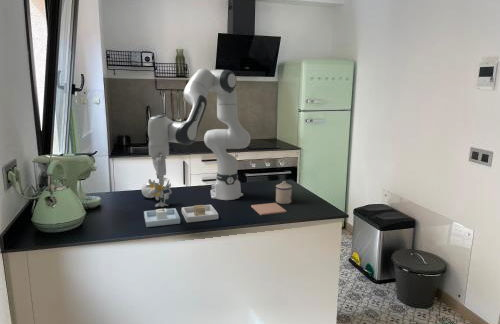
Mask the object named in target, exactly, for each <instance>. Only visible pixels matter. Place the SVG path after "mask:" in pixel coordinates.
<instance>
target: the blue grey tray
mask: <svg viewBox="0 0 500 324" xmlns="http://www.w3.org/2000/svg"><path fill="white" fill-rule="evenodd" d="M165 209H166V210H167V219H162V220H157V219H156V209H154V210H145V211H144V210H143V217H144V222H145V226H146V228H151V227H160V226H168V225H169V226H170V225H176V224H177V225H178V224H179V225H180V224H181V217H180V215H179V213H178V211H177V209H176V207H175V208H173V207H172V208H165Z"/></svg>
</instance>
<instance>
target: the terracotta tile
mask: <svg viewBox="0 0 500 324" xmlns="http://www.w3.org/2000/svg"><path fill="white" fill-rule="evenodd" d="M250 207H251V208H252V209H253V210H254V211H255V212H257V214H259V215H260V216H265V215H268V216H269V215H275V214H284V213H287V210H286V209H285V208H283V207H282V206H281V205H280V204H279V203H277V202H270V203H261V204H260V203H259V204H251V206H250Z"/></svg>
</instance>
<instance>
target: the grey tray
mask: <svg viewBox="0 0 500 324" xmlns="http://www.w3.org/2000/svg"><path fill="white" fill-rule="evenodd" d="M202 205H203V204H202ZM194 206H195V205H193V206H186V207H184V206H183V207H181V214H182V215H183V218H184V221H186V223H197V222H203V221H204V222H206V221H214V220H219V213H218V212H217V210H216V209H215V208H214V207H213V205H212V204H204V205H203V206H204V207H205V215H199V216H195V215H194Z"/></svg>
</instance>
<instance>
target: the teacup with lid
mask: <svg viewBox="0 0 500 324" xmlns="http://www.w3.org/2000/svg"><path fill="white" fill-rule="evenodd" d="M292 191H293V186H292V185H291V184H290V183H287V181H286V180H283V181H281V183H278V184H276V185H275V203H277V204H279V205H288V204H291V203H292V197H293V196H292V194H293V193H292Z"/></svg>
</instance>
